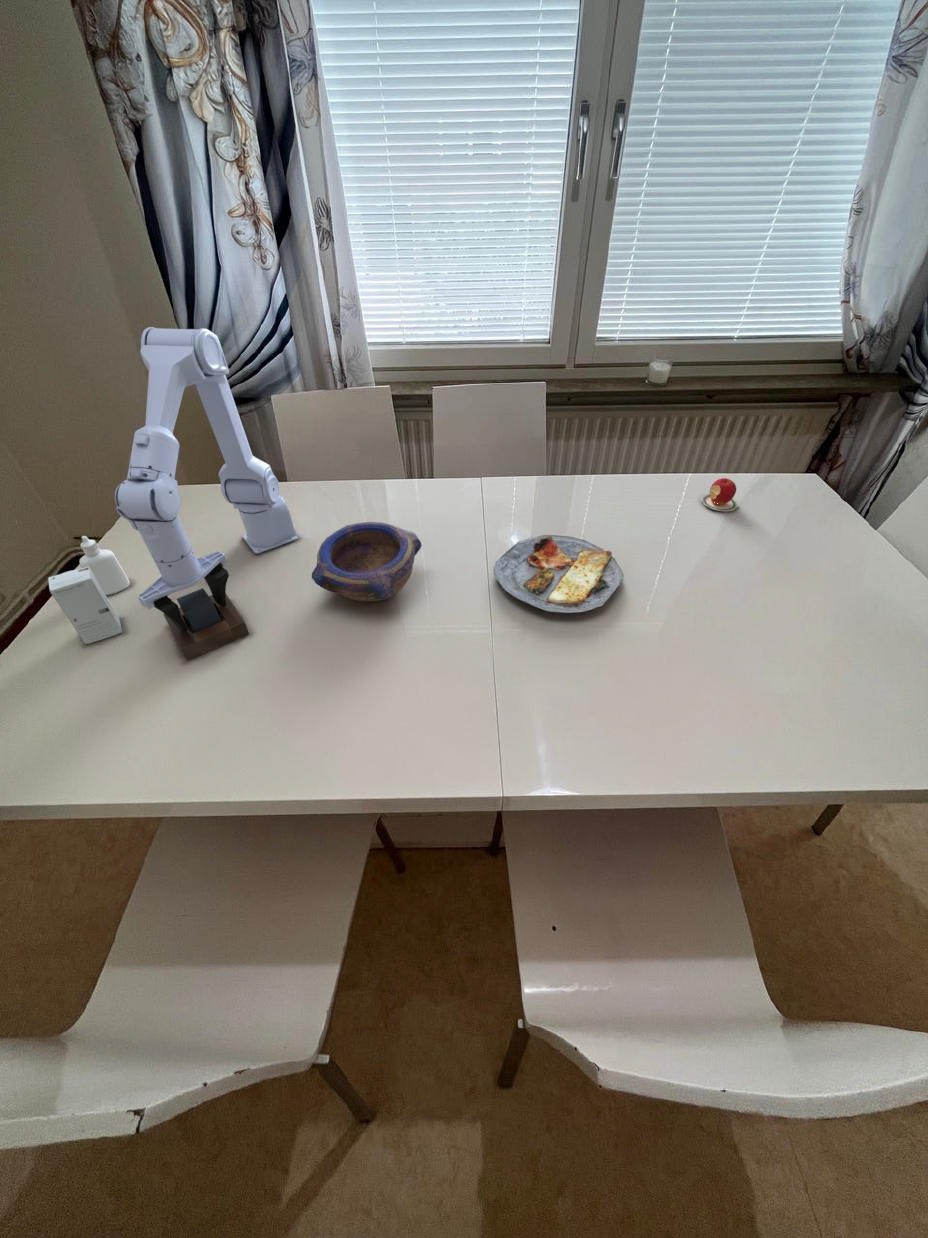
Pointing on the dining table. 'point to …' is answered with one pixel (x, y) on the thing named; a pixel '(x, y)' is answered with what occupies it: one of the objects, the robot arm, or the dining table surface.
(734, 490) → the apple
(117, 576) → the eye dropper bottle
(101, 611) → the cosmetic box
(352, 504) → the dining table surface
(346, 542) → the bowl
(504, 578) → the food plate
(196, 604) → the dark grey rectangular block
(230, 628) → the frame
